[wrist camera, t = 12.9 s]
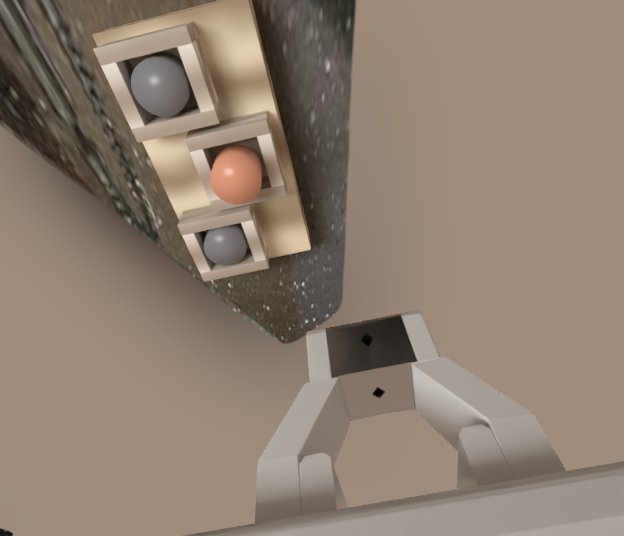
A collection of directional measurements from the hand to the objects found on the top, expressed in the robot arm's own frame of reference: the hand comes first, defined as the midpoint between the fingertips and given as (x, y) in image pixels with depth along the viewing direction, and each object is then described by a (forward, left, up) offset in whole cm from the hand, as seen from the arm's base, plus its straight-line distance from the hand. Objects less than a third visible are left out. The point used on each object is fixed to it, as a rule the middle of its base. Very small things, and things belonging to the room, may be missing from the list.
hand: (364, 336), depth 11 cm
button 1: (-3, -11, -31) cm, 33 cm away
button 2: (+14, -12, -31) cm, 36 cm away
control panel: (+5, -9, -35) cm, 37 cm away
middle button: (+6, -8, -28) cm, 30 cm away
